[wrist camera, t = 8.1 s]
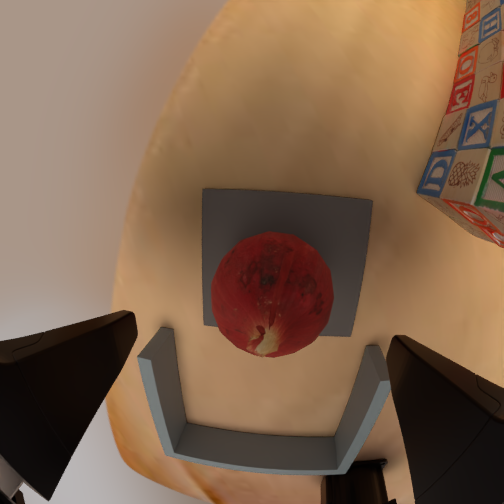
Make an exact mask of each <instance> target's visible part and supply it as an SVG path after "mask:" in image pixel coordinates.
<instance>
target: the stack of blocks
mask: <svg viewBox="0 0 504 504" xmlns="http://www.w3.org/2000/svg"><path fill="white" fill-rule="evenodd" d="M458 56H459V60H458V65H457V69H456V74H455V78H454V86H453V90H452V93H451V97H450V101H449V105H448V108H447V111H446V115H445V116H444V117H443V120H442V124H441V127H440V130H439V133H438V136H437V139H436V142H435V144H434V147H433V151H432V155H431V157H430V159H429V162H428V165H427V167H426V169H425V172H424V175H423V177H422V180H421V183H420V185H419V187H418V190H417V194H418V195H419V196H421V197H422V198H424V199H425V200H427V201H428V202H430V203H431V204H433V205H434V206H435V207H437V208H438V209H439V210H441V211H442V212H444V213H445V214H446V215H448V216H449V217H450V218H451V219H452V220H454V221H455V222H456V223H457V224H459V225H460V226H461V227H463V228H464V229H465V230H467V231H468V232H469V233H471V234H472V235H474V236H476V237H478V238H481V239H484V240H486V241H489V242H492V243H495V244H497V245H498V246H500V247H502V248H504V0H466V11H465V15H464V21H463V28H462V35H461V40H460V46H459V52H458Z"/></svg>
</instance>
